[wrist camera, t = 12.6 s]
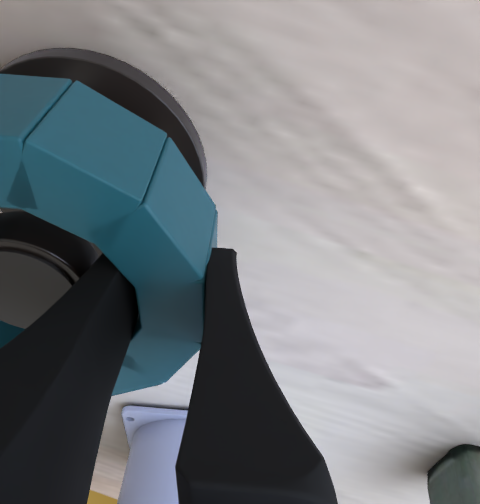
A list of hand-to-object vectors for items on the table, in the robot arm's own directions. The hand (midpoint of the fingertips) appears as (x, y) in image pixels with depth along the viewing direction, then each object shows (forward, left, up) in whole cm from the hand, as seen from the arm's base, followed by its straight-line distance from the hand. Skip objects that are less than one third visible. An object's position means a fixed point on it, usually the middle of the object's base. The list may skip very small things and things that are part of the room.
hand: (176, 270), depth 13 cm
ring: (0, +4, -1) cm, 4 cm away
